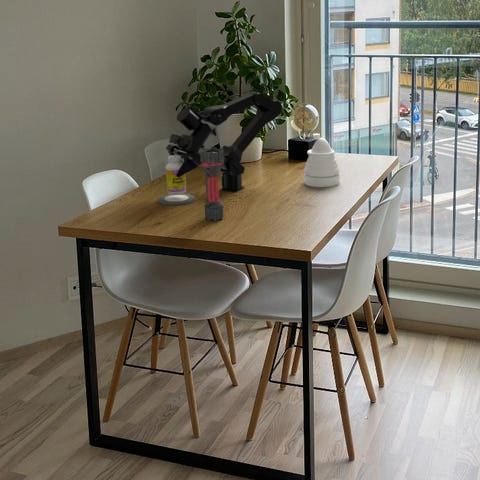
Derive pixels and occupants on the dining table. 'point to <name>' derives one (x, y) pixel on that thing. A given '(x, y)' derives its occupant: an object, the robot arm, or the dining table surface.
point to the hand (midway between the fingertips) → (172, 174)
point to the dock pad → (176, 199)
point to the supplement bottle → (173, 182)
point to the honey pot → (321, 165)
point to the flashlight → (212, 181)
